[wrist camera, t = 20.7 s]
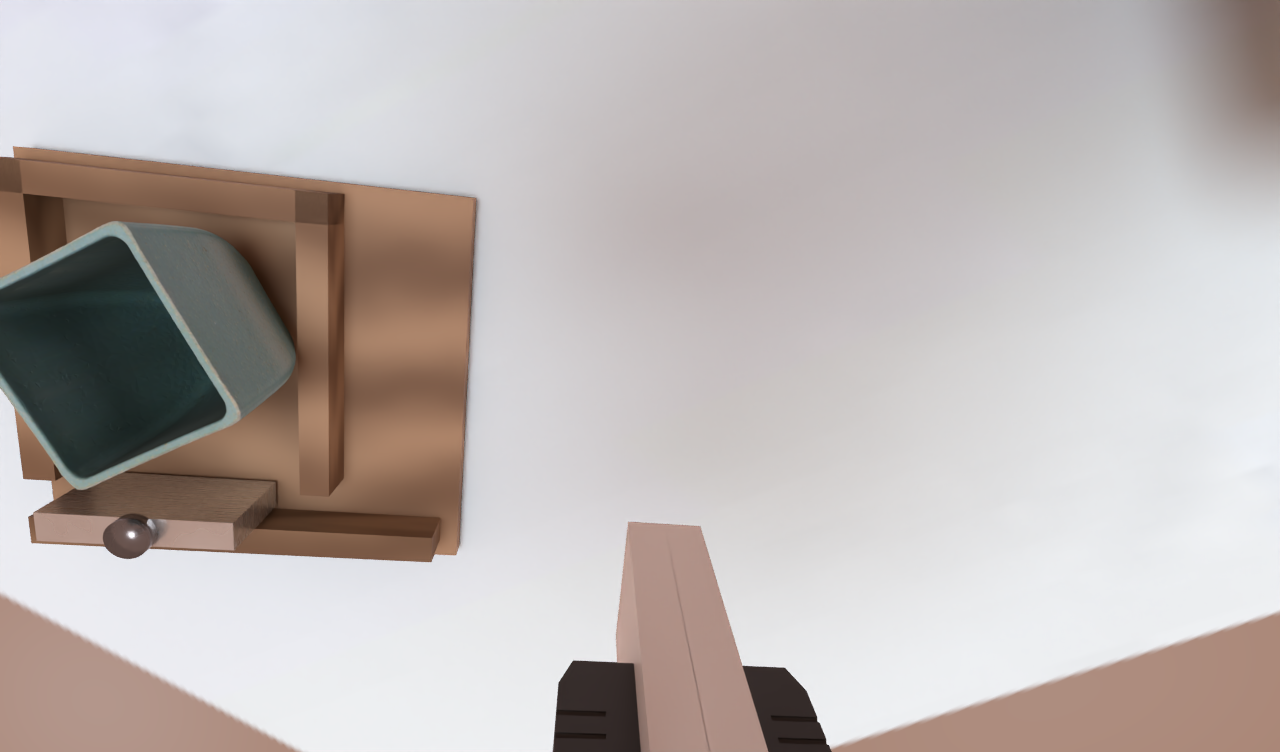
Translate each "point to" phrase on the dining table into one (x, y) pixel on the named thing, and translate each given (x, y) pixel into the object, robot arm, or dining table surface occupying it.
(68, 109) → the dining table surface
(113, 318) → the flower pot
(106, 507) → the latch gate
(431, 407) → the frame
